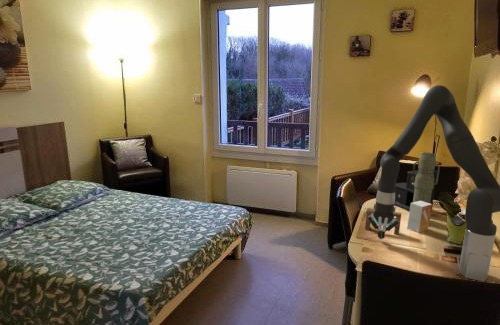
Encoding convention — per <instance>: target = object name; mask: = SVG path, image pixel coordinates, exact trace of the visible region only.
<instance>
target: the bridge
mask: <svg viewBox="0 0 500 325" xmlns="http://www.w3.org/2000/svg"><path fill="white" fill-rule="evenodd" d="M374 211H375V209H374V208H371V207H367V209H366V215H365V217H366V218H365V227H364V229H365V230H368V231H369V230H370V228H371V223H370V221H369V220H368V216H369V215H370V216H371V214H373V213H374ZM393 215H394V218H396V220H398V224H397V225H396V226H395V227H394V232H393V234H394V235H396V236H397V235H400V227H401V219H402V212H398V211H395V212H393Z"/></svg>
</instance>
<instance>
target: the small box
mask: <svg viewBox="0 0 500 325" xmlns="http://www.w3.org/2000/svg"><path fill="white" fill-rule="evenodd" d="M431 208H432V209H433V206H432V204H430V203H427V202H423V201H417V202H413V203H411V204H410V211H408V212H409V213H408V220H407V221H408V222H407V227H406V228H407V229H409V230H411V231H413V232H416V233H419V234H420V233H421V232H425V231H427V230H429V227H430V226H429V225H430V219H431V215H432V214H431V213H432V212H431Z"/></svg>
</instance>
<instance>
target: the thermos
mask: <svg viewBox="0 0 500 325" xmlns="http://www.w3.org/2000/svg"><path fill="white" fill-rule="evenodd" d="M416 165H417V170H416ZM436 166H437V170H435V169H436ZM440 168H441V166H440V164H439V163H437V159H436V154H434V153H433V152H422V153H420V155H419V158H418V161H415V162H414V163H413V164H412V171H413V173H412V181H413V182H414V187H415V190H414V197H413V202H417V201H423V202H427V203H430V200H431V193H432V190H433V187H434V185H435V186H436V185H438V182H439V175H440ZM415 171H417V174H416V176H415V179H414V173H415ZM434 171H437V176H436V183H435V181H434V180H435V178H434Z"/></svg>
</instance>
